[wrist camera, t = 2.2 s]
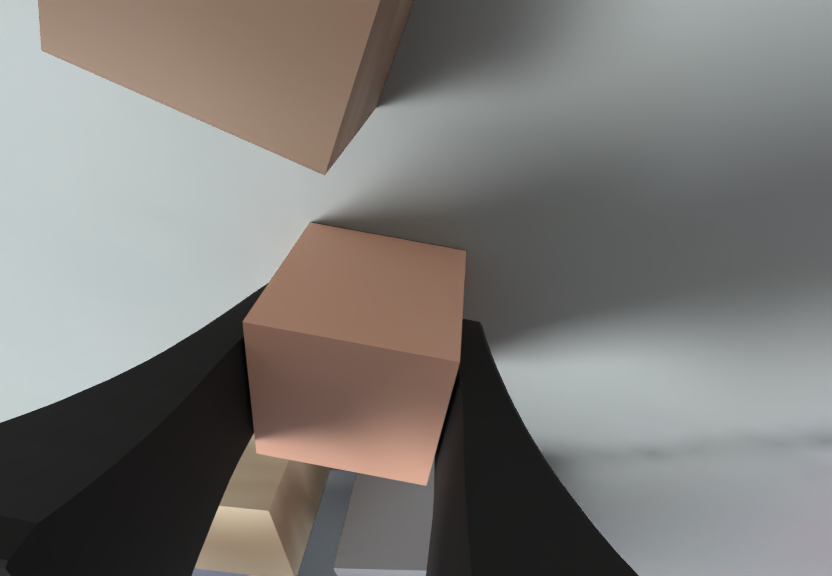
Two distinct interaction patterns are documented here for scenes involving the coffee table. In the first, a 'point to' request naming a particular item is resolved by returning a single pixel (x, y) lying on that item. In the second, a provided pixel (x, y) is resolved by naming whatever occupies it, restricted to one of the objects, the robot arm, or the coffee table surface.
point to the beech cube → (264, 516)
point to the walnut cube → (242, 62)
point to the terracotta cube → (356, 352)
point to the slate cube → (386, 528)
